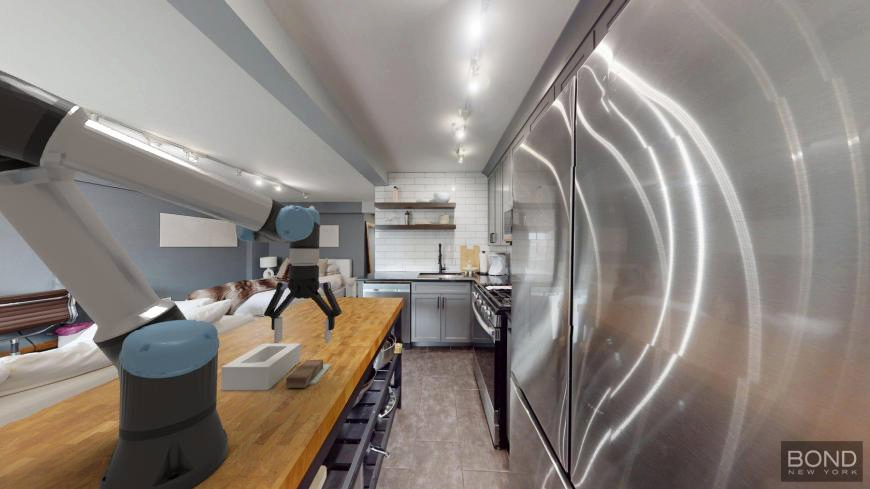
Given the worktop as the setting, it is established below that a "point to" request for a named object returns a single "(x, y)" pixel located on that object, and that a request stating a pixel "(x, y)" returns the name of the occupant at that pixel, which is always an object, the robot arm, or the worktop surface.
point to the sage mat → (320, 374)
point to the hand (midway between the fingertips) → (303, 341)
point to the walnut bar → (304, 374)
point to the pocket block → (260, 367)
